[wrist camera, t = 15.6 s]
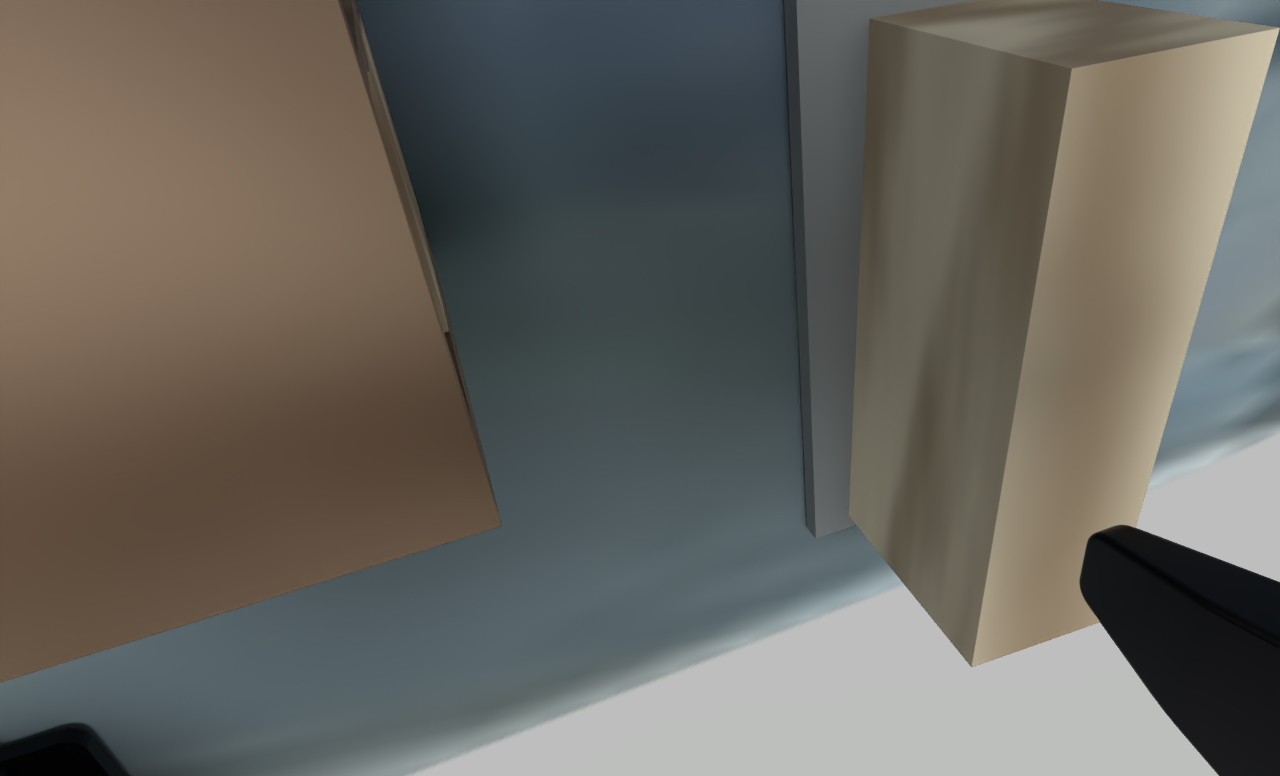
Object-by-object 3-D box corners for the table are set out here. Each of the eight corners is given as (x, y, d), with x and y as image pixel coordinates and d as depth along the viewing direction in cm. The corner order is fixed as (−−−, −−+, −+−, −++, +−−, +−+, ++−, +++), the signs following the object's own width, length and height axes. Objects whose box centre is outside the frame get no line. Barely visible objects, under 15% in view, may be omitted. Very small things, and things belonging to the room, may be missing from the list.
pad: (1003, 460, 27) (1016, 471, 27) (807, 526, 26) (815, 538, 25) (1073, -108, 18) (1093, -107, 18) (781, -49, 17) (795, -47, 17)
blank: (1031, -10, 19) (1280, 28, 14) (964, 481, 26) (1109, 618, 21) (869, 18, 18) (1071, 68, 13) (848, 515, 25) (971, 667, 20)
